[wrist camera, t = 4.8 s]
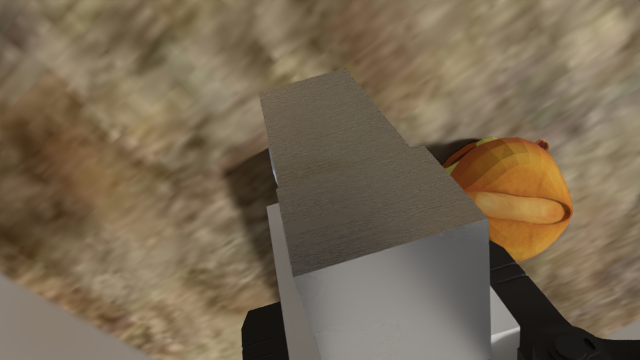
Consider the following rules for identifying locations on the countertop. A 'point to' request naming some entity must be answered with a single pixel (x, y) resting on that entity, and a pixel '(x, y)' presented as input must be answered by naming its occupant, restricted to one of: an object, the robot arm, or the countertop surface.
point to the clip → (375, 230)
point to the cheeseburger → (514, 192)
